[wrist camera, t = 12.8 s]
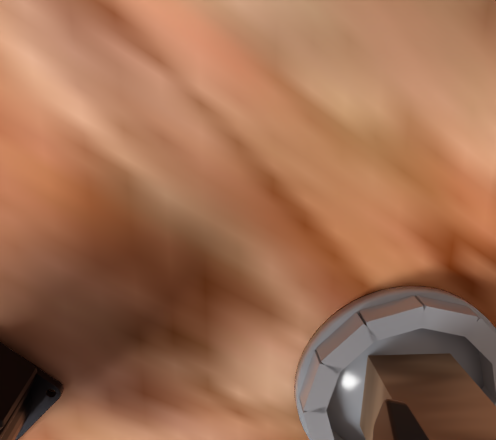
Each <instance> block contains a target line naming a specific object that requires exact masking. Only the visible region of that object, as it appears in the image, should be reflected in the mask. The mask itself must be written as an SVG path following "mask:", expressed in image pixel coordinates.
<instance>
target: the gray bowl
mask: <svg viewBox="0 0 496 440" xmlns="http://www.w3.org/2000/svg"><path fill="white" fill-rule="evenodd" d="M446 353H450V354H451V355H452V356H453V357H454V359H455V360H456V361H457V362H458V363H459V364H460V365H461V367H462V368H463V369H464V370H465V371H466V372H467V374H468V375H469V376H470V377H471V378H472V379H473V381H474V382H475V383H476V384H477V385H478V386H479V387H480V389H481V390H482V391H483V392H484V393H485V394H486V396H487V397H488V398H489V399H490V400H491V401H492V402H493V404H494V405H495V406H496V328H495V327H494V326H493V325H492V323H491V322H490V321H489V320H488V319H487V318H486V317H485V316H484V315H483V314H482V313H480V312H479V311H478V310H477V309H476V308H475V307H474V306H472V305H471V304H470V303H468V302H467V301H465V300H464V299H462V298H461V297H458V296H456V295H454V294H452V293H450V292H447V291H443V290H440V289H436V288H430V287H423V286H404V287H394V288H389V289H385V290H380V291H377V292H374V293H371V294H368V295H366V296H363V297H361V298H359V299H357V300H355V301H353V302H351V303H350V304H348V305H346V306H345V307H343V308H342V309H340V310H339V311H337V312H336V313H335V314H334V315H332V316H331V317H330V318H329V319H328V320H327V321H326V322H325V323H324V324H323V325H322V326H321V327H320V328H319V329H318V330H317V331H316V333H315V334H314V335H313V337H312V338H311V339H310V341H309V343H308V344H307V346H306V348H305V350H304V351H303V354H302V356H301V359H300V361H299V364H298V368H297V372H296V376H295V386H294V388H295V401H296V405H297V410H298V414H299V418H300V421H301V423H302V426H303V429H304V431H305V432H306V434H307V436H308V437H309V439H310V440H366V439H365V437H364V434H363V432H362V430H361V427H360V418H361V409H362V401H363V392H364V383H365V375H366V366H367V358H368V355H406V354H446Z"/></svg>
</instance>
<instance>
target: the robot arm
mask: <svg viewBox="0 0 496 440" xmlns="http://www.w3.org/2000/svg"><path fill="white" fill-rule="evenodd" d="M49 389H52V390H54V391H55V392H51V391H50V390H49ZM62 392H63V386H62V384H61V383H60V382H58V381H57V380H55V379H54V378H52V377H51V376H49V375H48V374H46V373H45V372H44V371H42V370H41V369H39V368H38V367H36V366H35V365H33V364H32V363H30V362H29V361H27V360H26V359H24V358H23V357H21V356H20V355H18V354H17V353H16V352H14V351H13V350H11V349H10V348H8V347H7V346H5V345H4V344H2V343H1V342H0V440H18V439H19V438H20V437H21V436H22V435H23V434H24V433H25V432H26V431H27V430H28V429H29V428H30V427H31V426H32V425H33V424H34V423H35V422H36V421H37V420H38V419H39V418H40V417H41V416H42V415H43V414H44V413H45V412H46V411H47V410H48V409H49V408H50V407H51V406H52V405H53V404H54V403H55V402H56V401H57V400H58V399H59V397H60V396H61V394H62ZM373 440H429V438H428V436H427V435H426V433H425V432H424V430H423V428H422V427H421V425H420V424H419V422H418V421H417V419H416V417H415V416H414V414H413V413H412V411H411V410H410V408H409V406H408V405H407V404H406V403H404V402H402V401H397V400H393V399H385V400H384V401H383V403H382V406H381V408H380V411H379V413H378V416H377V418H376V421H375V424H374V428H373Z"/></svg>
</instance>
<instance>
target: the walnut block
mask: <svg viewBox="0 0 496 440" xmlns="http://www.w3.org/2000/svg"><path fill="white" fill-rule="evenodd" d="M385 399H393V400H397V401H402V402H404V403H406V404H407V405H408V406H409V408H410V410H411V411H412V413H413V414H414V416H415V417H416V419H417V421H418V422H419V424H420V425H421V427H422V428H423V430H424V432H425V433H426V435H427V436H428V438H429V440H496V406H495V405H494V404H493V402H492V401H491V400H490V399H489V398H488V397H487V396H486V394H485V393H484V392H483V391H482V390H481V389H480V387H479V386H478V385H477V384H476V383H475V382H474V381H473V379H472V378H471V377H470V376H469V375H468V374H467V372H466V371H465V370H464V369H463V368H462V367H461V365H460V364H459V363H458V362H457V361H456V360H455V359H454V357H453V356H452V355H451V354H450V353H446V354H406V355H368V358H367V366H366V375H365V383H364V392H363V401H362V409H361V418H360V427H361V430H362V432H363V434H364V437H365V439H366V440H373V428H374V424H375V421H376V418H377V416H378V413H379V411H380V408H381V406H382V403H383V401H384V400H385Z"/></svg>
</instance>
